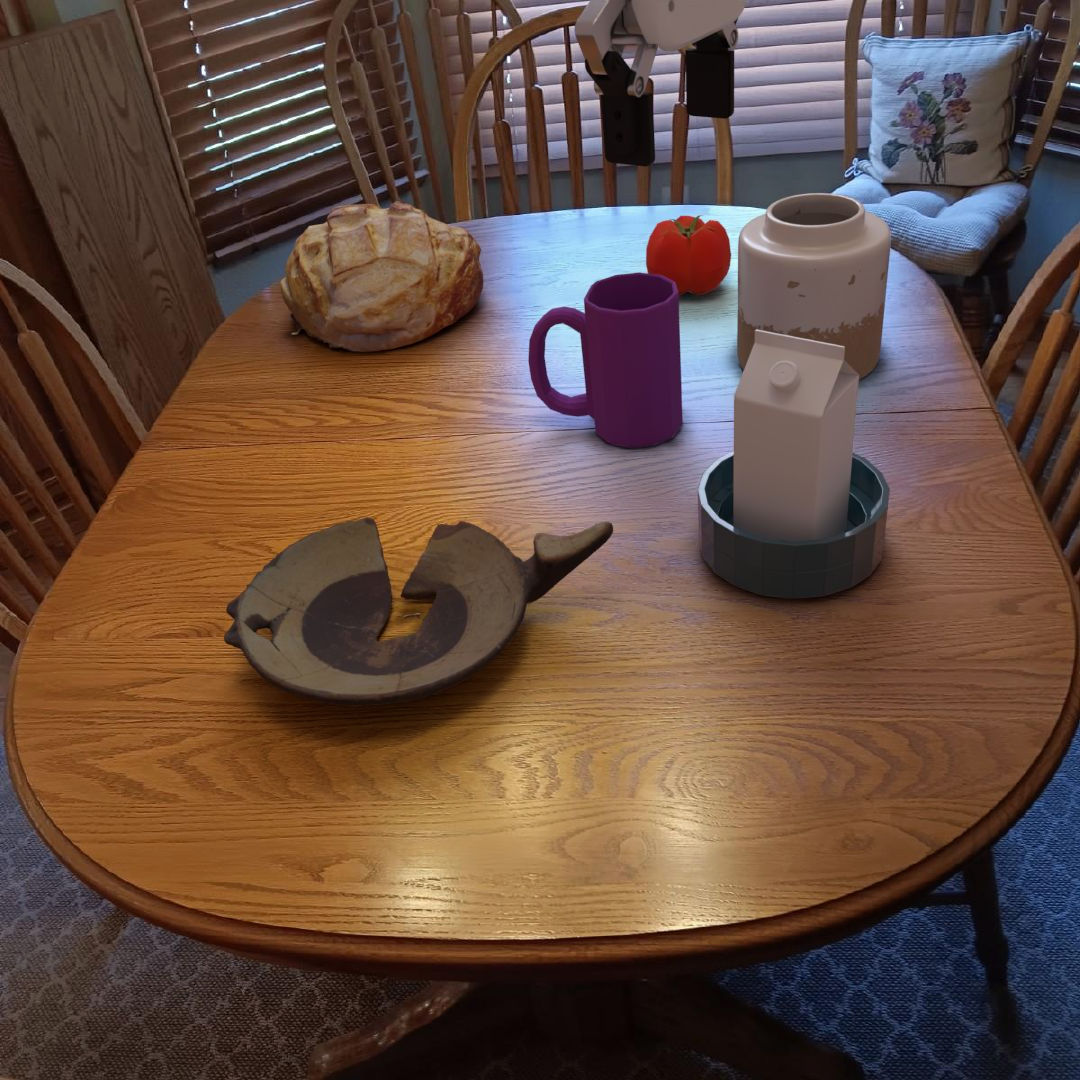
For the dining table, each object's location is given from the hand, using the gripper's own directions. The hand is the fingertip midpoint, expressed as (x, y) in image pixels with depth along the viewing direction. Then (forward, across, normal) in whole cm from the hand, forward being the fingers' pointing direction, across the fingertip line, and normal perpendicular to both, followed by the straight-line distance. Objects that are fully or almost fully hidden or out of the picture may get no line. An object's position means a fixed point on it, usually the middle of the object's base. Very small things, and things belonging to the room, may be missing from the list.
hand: (672, 138), depth 65 cm
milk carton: (+36, +9, -5) cm, 37 cm away
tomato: (+36, +52, +29) cm, 70 cm away
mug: (+36, +19, +20) cm, 46 cm away
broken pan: (+36, -16, +15) cm, 43 cm away
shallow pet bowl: (+36, +9, -5) cm, 38 cm away
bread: (+36, +31, +63) cm, 79 cm away
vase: (+36, +41, +8) cm, 55 cm away
